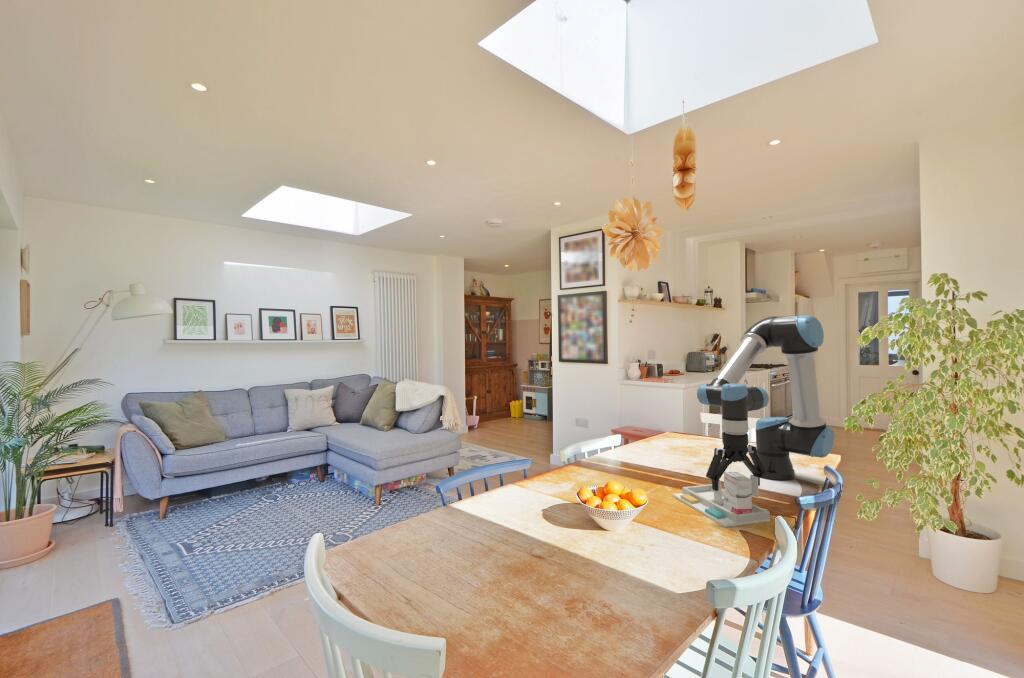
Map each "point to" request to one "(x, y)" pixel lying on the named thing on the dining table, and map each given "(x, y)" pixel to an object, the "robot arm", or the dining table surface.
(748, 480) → the ink box
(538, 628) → the dining table surface
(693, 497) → the dock board
